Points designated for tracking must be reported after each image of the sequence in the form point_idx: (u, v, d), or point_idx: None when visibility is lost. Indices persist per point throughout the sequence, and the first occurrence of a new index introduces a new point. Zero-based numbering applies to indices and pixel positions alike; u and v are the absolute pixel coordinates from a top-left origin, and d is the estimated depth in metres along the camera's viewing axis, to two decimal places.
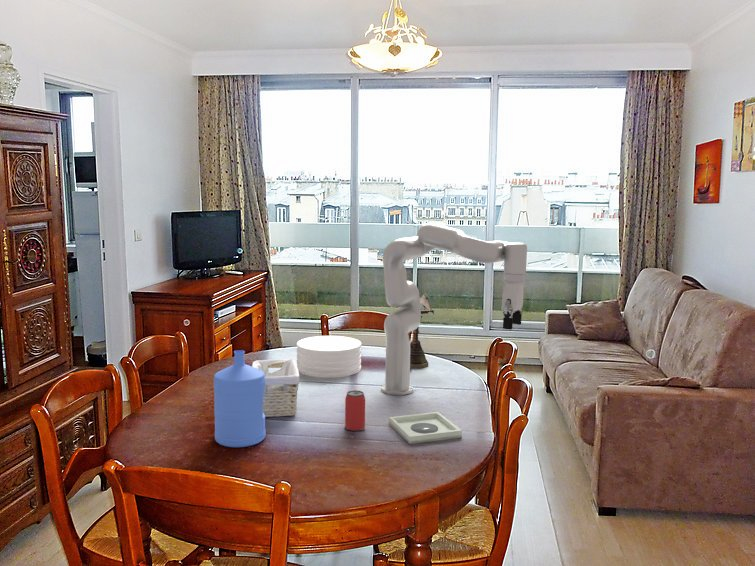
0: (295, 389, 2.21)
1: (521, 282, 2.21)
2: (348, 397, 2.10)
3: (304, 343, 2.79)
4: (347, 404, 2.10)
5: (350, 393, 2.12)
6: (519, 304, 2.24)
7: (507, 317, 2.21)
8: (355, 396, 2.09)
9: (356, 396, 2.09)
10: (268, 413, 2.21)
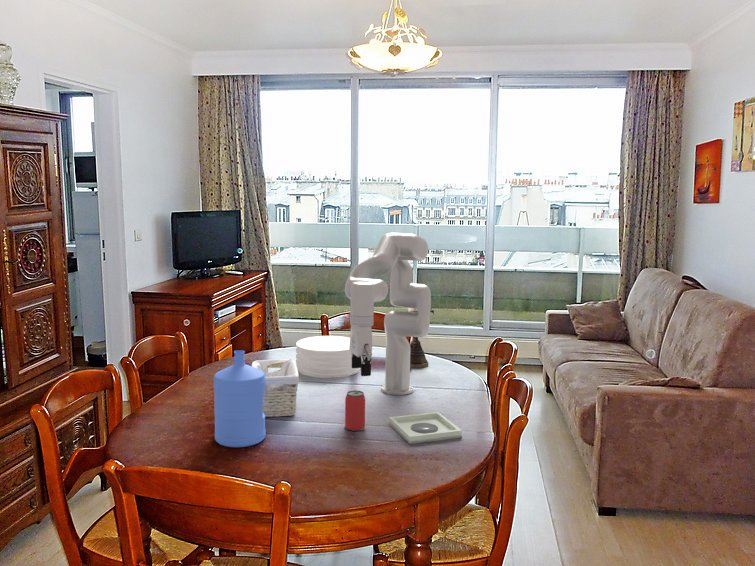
0: (294, 389, 2.21)
1: (373, 323, 2.08)
2: (348, 397, 2.10)
3: (303, 343, 2.79)
4: (347, 404, 2.10)
5: (350, 393, 2.12)
6: None
7: (367, 363, 2.05)
8: (355, 396, 2.09)
9: (356, 396, 2.09)
10: (267, 413, 2.21)
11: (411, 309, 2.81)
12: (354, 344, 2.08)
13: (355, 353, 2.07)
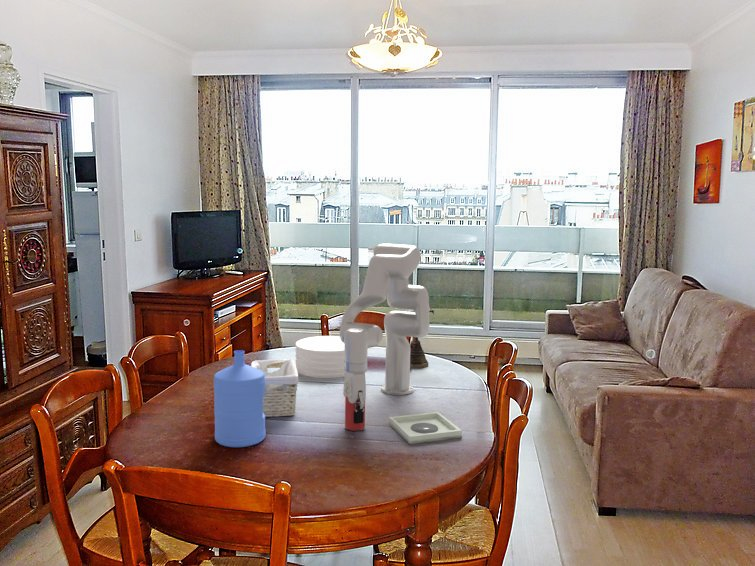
0: (294, 389, 2.21)
1: (366, 370, 2.10)
2: None
3: (303, 343, 2.79)
4: (347, 404, 2.10)
5: None
6: None
7: (360, 411, 2.08)
8: None
9: None
10: (267, 413, 2.21)
11: None
12: (348, 390, 2.09)
13: (349, 399, 2.08)
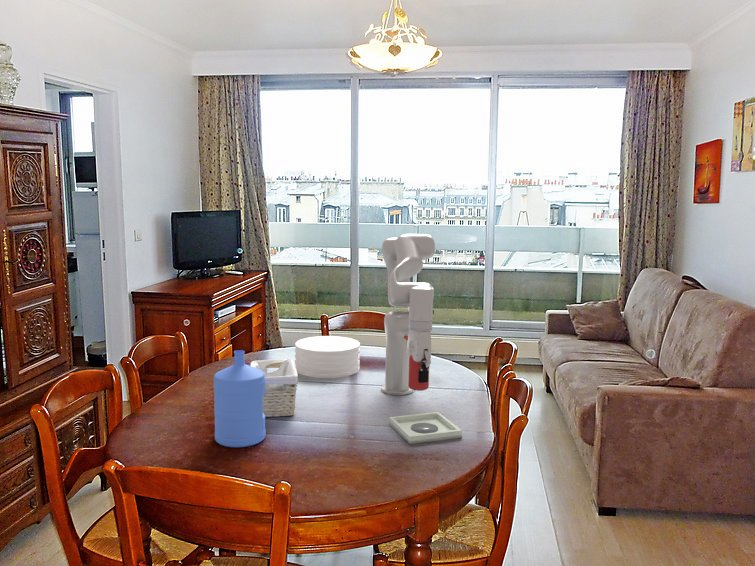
0: (294, 389, 2.21)
1: (431, 328, 2.06)
2: None
3: (302, 343, 2.79)
4: (411, 363, 2.07)
5: None
6: None
7: (425, 370, 2.04)
8: None
9: None
10: (266, 413, 2.21)
11: None
12: (413, 349, 2.06)
13: (414, 358, 2.05)
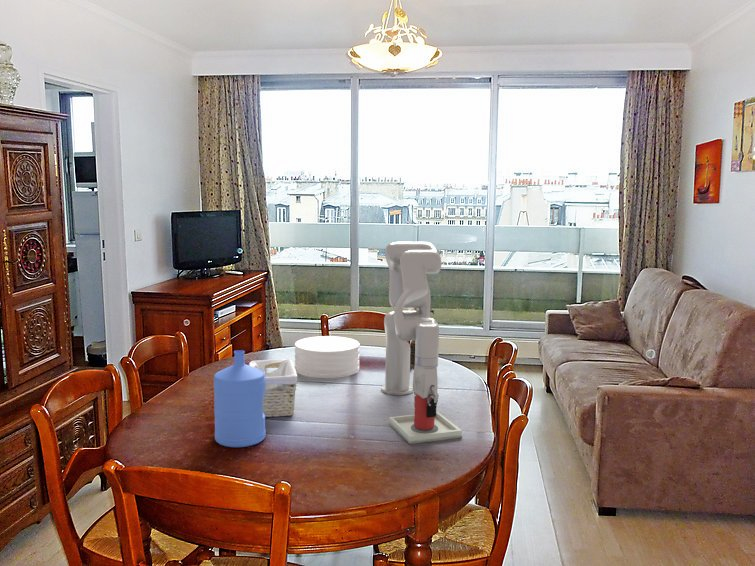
0: (293, 389, 2.21)
1: (437, 364, 2.08)
2: (418, 396, 2.09)
3: (302, 344, 2.78)
4: (417, 403, 2.09)
5: None
6: None
7: (433, 405, 2.05)
8: None
9: None
10: (266, 413, 2.21)
11: (411, 309, 2.81)
12: (419, 385, 2.08)
13: (420, 394, 2.07)
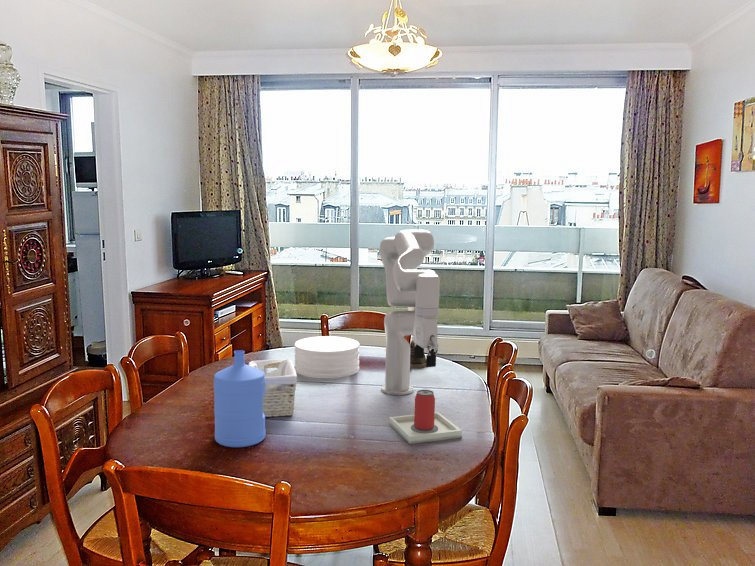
0: (293, 389, 2.21)
1: None
2: (418, 396, 2.09)
3: (302, 344, 2.78)
4: (417, 403, 2.09)
5: (420, 392, 2.11)
6: None
7: (433, 355, 2.07)
8: (426, 395, 2.08)
9: (427, 395, 2.08)
10: (266, 413, 2.21)
11: (411, 309, 2.81)
12: (419, 335, 2.10)
13: (420, 344, 2.09)
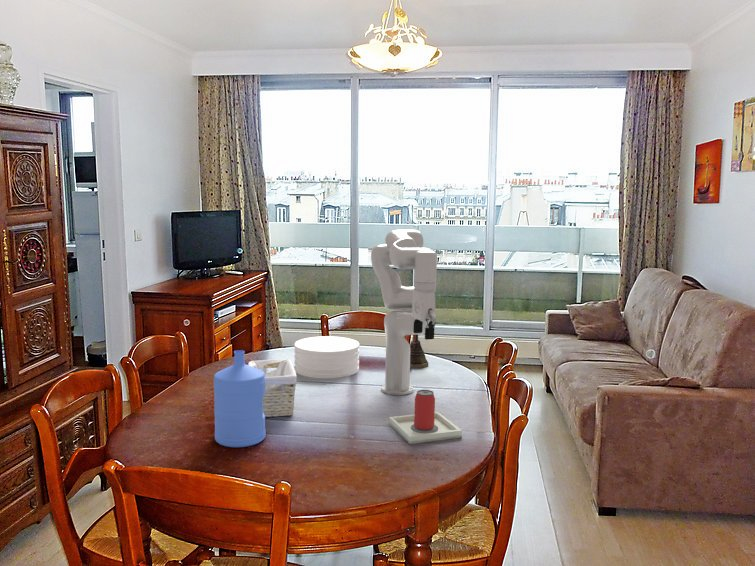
0: (292, 389, 2.21)
1: (435, 290, 2.19)
2: (418, 396, 2.09)
3: (302, 344, 2.78)
4: (417, 403, 2.09)
5: (420, 392, 2.11)
6: None
7: (431, 327, 2.16)
8: (426, 395, 2.08)
9: (427, 395, 2.08)
10: (265, 413, 2.21)
11: None
12: (418, 309, 2.19)
13: (419, 318, 2.18)
